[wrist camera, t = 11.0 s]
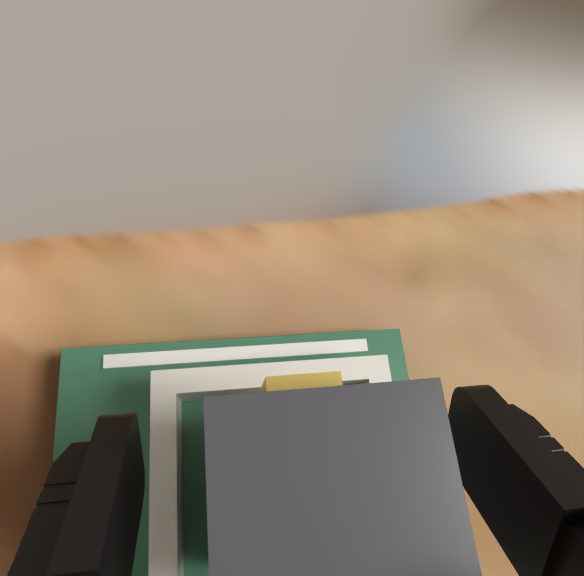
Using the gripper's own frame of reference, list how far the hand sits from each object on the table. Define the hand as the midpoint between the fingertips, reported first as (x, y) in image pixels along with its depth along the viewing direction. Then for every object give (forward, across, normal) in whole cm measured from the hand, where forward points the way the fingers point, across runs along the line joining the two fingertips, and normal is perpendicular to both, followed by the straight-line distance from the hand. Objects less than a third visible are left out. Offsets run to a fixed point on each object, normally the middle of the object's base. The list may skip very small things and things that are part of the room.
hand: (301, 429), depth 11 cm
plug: (+4, 0, +6) cm, 7 cm away
